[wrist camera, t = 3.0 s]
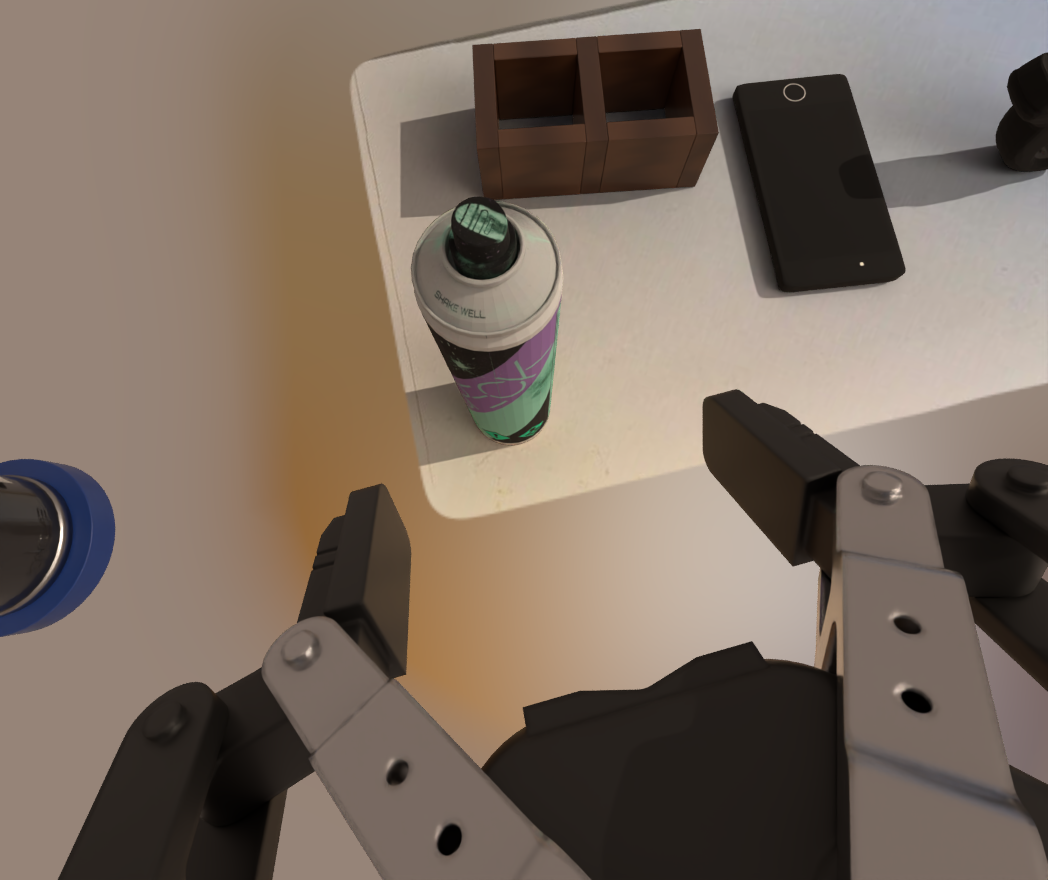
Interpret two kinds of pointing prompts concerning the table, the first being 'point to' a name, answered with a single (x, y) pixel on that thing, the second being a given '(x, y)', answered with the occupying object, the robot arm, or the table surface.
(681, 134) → the rack
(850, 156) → the cell phone
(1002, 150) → the controller
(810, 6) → the table surface
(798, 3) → the table surface
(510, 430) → the spray can
